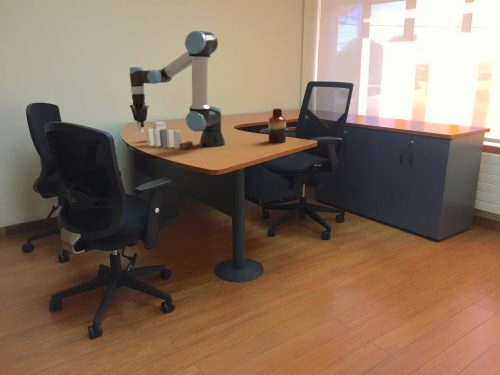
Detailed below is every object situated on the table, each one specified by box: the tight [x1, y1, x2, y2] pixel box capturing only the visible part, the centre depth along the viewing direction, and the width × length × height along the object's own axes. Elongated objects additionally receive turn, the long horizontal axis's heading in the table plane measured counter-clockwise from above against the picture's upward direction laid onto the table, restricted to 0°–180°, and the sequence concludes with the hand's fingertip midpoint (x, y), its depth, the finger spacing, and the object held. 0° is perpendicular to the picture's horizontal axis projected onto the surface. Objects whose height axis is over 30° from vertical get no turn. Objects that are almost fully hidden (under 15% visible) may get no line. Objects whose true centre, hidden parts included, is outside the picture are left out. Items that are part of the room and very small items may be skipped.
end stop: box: [179, 141, 194, 150], centre depth 250 cm, size 3×9×3 cm, turn 154°
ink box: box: [150, 121, 167, 130], centre depth 274 cm, size 9×5×12 cm, turn 141°
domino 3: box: [160, 128, 168, 148], centre depth 255 cm, size 2×5×10 cm, turn 154°
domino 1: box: [145, 127, 154, 147], centre depth 260 cm, size 2×5×10 cm, turn 154°
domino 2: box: [153, 129, 161, 147], centre depth 258 cm, size 2×5×10 cm, turn 154°
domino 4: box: [166, 129, 175, 149], centre depth 253 cm, size 2×5×10 cm, turn 154°
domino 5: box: [173, 129, 182, 149], centre depth 251 cm, size 2×5×10 cm, turn 154°
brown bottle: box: [268, 108, 287, 144], centre depth 263 cm, size 11×11×20 cm
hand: (141, 132), depth 262 cm, fingers closed
